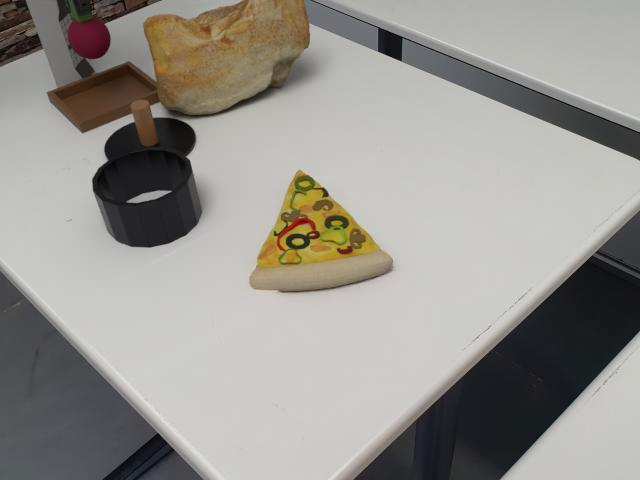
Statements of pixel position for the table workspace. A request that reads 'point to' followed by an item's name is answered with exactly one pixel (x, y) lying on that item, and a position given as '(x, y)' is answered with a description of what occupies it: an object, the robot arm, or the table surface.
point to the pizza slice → (315, 244)
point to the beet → (88, 35)
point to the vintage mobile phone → (58, 40)
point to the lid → (150, 133)
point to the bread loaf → (225, 53)
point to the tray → (104, 96)
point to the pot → (154, 215)
